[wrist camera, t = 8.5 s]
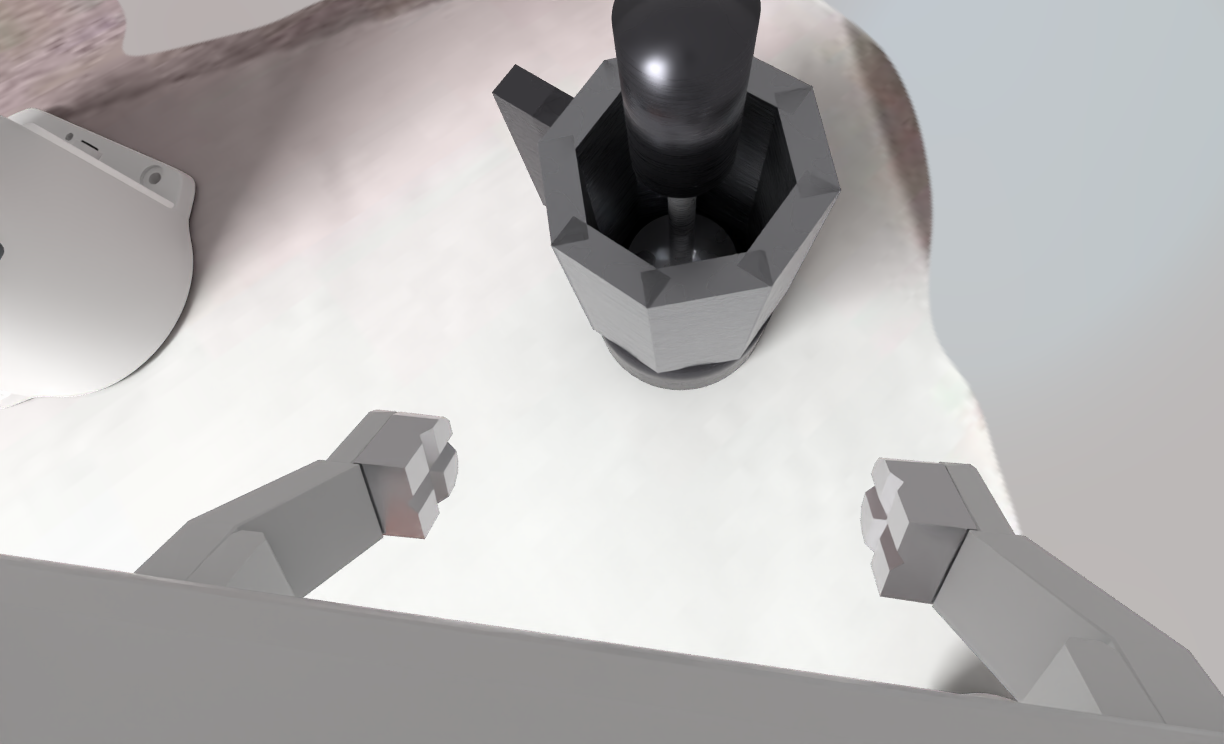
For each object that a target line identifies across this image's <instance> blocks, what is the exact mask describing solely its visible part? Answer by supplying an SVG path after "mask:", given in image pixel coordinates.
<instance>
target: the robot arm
mask: <svg viewBox="0 0 1224 744" xmlns="http://www.w3.org/2000/svg"><path fill="white" fill-rule="evenodd" d="M194 195H195V182H194V180H193V178H192V177H191V176H189V175H188V174H186V173H184V172H182V171H180V170H178V169H176V168H174V167H172V166H170V165H167V164H165V163H163V162H160V161H158V160H156V159H154V158H151V157H149V156H147V155H144V154H142V153H140V152H137V151H135V150H133V149H130V148H128V147H126V146H123V145H121V144H119V143H117V142H114V141H112V140H110V139H107V138H105V137H103V136H100V135H98V134H96V133H93V132H91V131H89V130H87V129H84V128H82V127H80V126H77V125H75V124H73V123H70V122H68V121H66V120H63V119H61V118H59V117H57V116H54V115H52V114H50V113H47V112H45V111H42V110H40V109H37V108H28V109H25V110H23V111H20V112H18V113H16V114H13V115H11V116H9V117H8V118H6V117H4V116H1V115H0V409H4V408H8V407H11V406H14V405H16V404H19V403H21V402H24V401H26V400H28V399H31V398H34V397H73V396H80V395H85V394H89V393H93V392H96V391H99V390H101V389H104V388H106V387H108V386H111V385H113V384H114V383H116V382H118V381H120V380H122V379H123V378H125V377H126V376H128V375H129V374H131V373H132V372H134V371H135V370H136V369H137V368H139V367H140V366H141V365H142V364H143V363H144V362H146V361H147V360H148V359H149V358H150V357H151V356H152V355H153V354H154V353H155V351H156V350H157V349H158V348H159V347H160V346H161V344H162V343H163V342H164V341H165V339H166V338H167V336H168V335H169V334H170V332H171V331H172V329H173V327H174V326H175V324H176V322H177V320H178V318H179V316H180V314H181V312H182V310H183V308H184V305H185V303H186V300H187V297H188V293H189V290H190V285H191V280H192V273H193V250H192V244H191V238H190V232H189V217H190V213H191V209H192V205H193V201H194ZM452 434H453V433H452V429H451V425H450V421H449V420H448V419H447V418H445V417H440V416H432V415H423V414H415V413H406V412H395V411H386V410H374V411H371V412H369V413H368V414H367V415H366V416H365V417H364V418H363V420H362V421H361V422H360V423H359V424H358V425H357V426H356V427H355V429H354V430H353V431H352V432H351V433H350V434H349V435H348V436H347V438H346V439H345V440H344V441H343V442H342V443H341V444H340V445H339V446H338V448H337V449H336V450H335V451H334V452H333V453H332V454H331V455H330V457H329V458H328V459H327V460H326V461H325V460H317V461H315V462H313V463H311V464H309V465H307V466H305V467H302V468H300V469H298V470H296V471H294V472H292V473H290V474H287V475H285V476H283V477H281V478H279V479H277V480H275V481H272V482H270V483H268V484H266V485H264V486H262V487H260V488H258V489H255V490H253V491H251V492H249V493H247V494H245V495H243V496H240V497H238V498H236V499H234V500H232V501H230V502H228V503H226V504H223V505H221V506H219V507H217V508H215V509H213V510H211V511H208V512H206V513H204V514H202V515H200V516H198V517H196V518H193V519H191V520H189V521H188V522H187V523H186V524H185V525H184V526H183V527H182V528H180V529H179V530H178V531H177V532H176V533H175V534H174V535H173V536H172V537H171V538H170V539H169V540H168V541H167V542H166V543H165V544H164V545H163V546H161V547H160V548H159V549H158V550H157V551H156V552H155V553H154V554H153V555H152V556H151V557H150V558H149V559H148V560H147V561H146V562H145V563H144V564H142V565H141V566H140V567H139V568H138V569H137V570H136V571H135V572H134V573H129V572H122V571H115V570H108V569H101V568H94V567H88V566H81V565H74V564H67V563H60V562H53V561H46V560H39V559H32V558H26V557H19V556H12V555H5V554H0V744H1224V697H1223V695H1222V694H1221V692H1220V691H1219V690H1218V689H1217V687H1216V686H1215V684H1214V683H1213V682H1212V680H1211V679H1210V678H1209V676H1208V675H1207V674H1206V672H1205V671H1204V670H1203V668H1202V667H1201V666H1200V664H1199V663H1198V662H1197V660H1196V659H1195V658H1194V656H1193V655H1192V653H1191V652H1190V651H1189V650H1188V649H1186V648H1185V647H1183V646H1182V645H1180V644H1179V643H1178V642H1176V641H1175V640H1173V639H1172V638H1170V637H1169V636H1167V635H1166V634H1165V633H1163V632H1162V631H1160V630H1159V629H1157V628H1156V627H1155V626H1153V625H1152V624H1150V623H1149V622H1148V621H1146V620H1145V619H1143V618H1142V617H1140V616H1139V615H1138V614H1136V613H1135V612H1133V611H1132V610H1130V609H1129V608H1127V607H1126V606H1125V605H1123V604H1122V603H1120V602H1119V601H1117V600H1116V599H1115V598H1113V597H1112V596H1110V595H1109V594H1107V593H1106V592H1105V591H1103V590H1102V589H1100V588H1099V587H1097V586H1096V585H1095V584H1093V583H1092V582H1090V581H1089V580H1087V579H1086V578H1085V577H1083V576H1082V575H1080V574H1079V573H1077V572H1076V571H1074V570H1073V569H1072V568H1070V567H1069V566H1067V565H1066V564H1064V563H1063V562H1062V561H1060V560H1059V559H1057V558H1056V557H1054V556H1053V555H1052V554H1050V553H1049V552H1047V551H1046V550H1044V549H1043V548H1042V547H1040V546H1039V545H1037V544H1036V543H1034V542H1033V541H1032V540H1030V539H1028V538H1027V537H1026V536H1021V535H1015V534H1014V532H1013V530H1012V528H1011V527H1010V525H1009V523H1008V522H1007V520H1006V518H1005V517H1004V515H1003V513H1002V511H1001V510H1000V508H999V506H998V505H997V503H996V501H995V500H994V498H993V496H992V494H991V493H990V491H989V489H988V488H987V486H986V484H985V483H984V481H983V479H982V477H981V476H980V474H979V472H978V471H977V469H976V468H975V467H973V466H972V465H971V464H959V463H945V462H939V463H935V462H924V461H913V460H901V459H890V458H878V460H877V461H876V463H875V464H874V467H873V470H872V473H871V475H872V478H873V481H874V484H875V486H874V487H872V488H871V489H869V490H868V491H867V492H865V495H864V499H863V502H862V506H861V520H860V521H861V530H862V535H863V539H864V543H865V544H866V545H867V546H868V547H869V548H870V549H871V550H872V551H873V552H874V556H873V559H872V561H871V567H872V571H873V574H874V578H875V581H876V585H877V588H878V592H879V595H880V596H882V597H888V598H895V599H901V600H908V601H915V602H921V603H928V604H933V606H932V607H933V608H934V609H935V610H936V611H937V612H938V614H939V615H940V616H941V617H942V618H943V619H944V620H945V621H946V622H947V624H948V625H949V626H950V627H951V628H952V629H953V630H954V631H955V632H956V633H957V635H958V636H959V637H960V638H961V639H962V640H963V641H964V642H965V643H966V645H967V646H968V647H969V648H970V649H971V650H972V651H973V652H974V653H975V655H976V656H977V657H978V658H979V659H980V660H981V661H982V662H983V663H984V664H985V666H986V667H987V668H988V669H989V670H990V671H991V672H992V673H993V674H994V676H995V677H996V678H997V679H998V680H999V681H1000V682H1001V683H1002V684H1003V686H1004V687H1005V688H1006V689H1007V690H1008V691H1009V692H1010V693H1011V694H1012V696H1013V697H1014V698H1015V699H1016V700H1017V701H1018V702H1013V701H1006V700H999V699H992V698H985V697H979V696H972V695H965V694H958V693H951V692H945V691H938V690H931V689H924V688H917V687H910V686H904V685H897V684H890V683H883V682H876V681H869V680H863V679H856V678H849V677H842V676H835V675H828V674H821V673H815V672H808V671H801V670H794V669H787V668H780V667H773V666H767V665H760V664H753V663H746V662H739V661H732V660H725V659H719V658H712V657H705V656H698V655H691V654H684V653H677V652H671V651H664V650H657V649H650V648H643V647H636V646H629V645H623V644H616V643H609V642H602V641H595V640H588V639H582V638H575V637H568V636H561V635H554V634H547V633H541V632H534V631H527V630H520V629H513V628H506V627H499V626H493V625H486V624H479V623H472V622H465V621H458V620H451V619H445V618H438V617H431V616H424V615H417V614H410V613H403V612H397V611H390V610H383V609H376V608H369V607H362V606H355V605H349V604H342V603H335V602H328V601H321V600H314V599H308V598H303V597H304V596H306V595H307V594H308V593H310V592H311V591H312V590H314V589H315V588H316V587H318V586H319V585H320V584H322V583H323V582H324V581H326V580H327V579H328V578H330V577H331V576H332V575H334V574H335V573H336V572H338V571H339V570H340V569H342V568H343V567H344V566H346V565H347V564H348V563H350V562H351V561H352V560H354V559H355V558H356V557H358V556H359V555H360V554H362V553H363V552H364V551H366V550H367V549H368V548H370V547H371V546H372V545H374V544H375V543H376V542H378V541H379V540H380V539H382V538H383V535H388V536H399V537H409V538H419V539H425V538H426V536H427V534H428V533H429V531H430V529H431V527H432V526H433V524H434V522H435V520H436V518H437V517H438V515H439V509H438V505H437V503H439V502H441V501H442V500H444V499H446V498H447V497H449V495H450V493H451V492H452V490H453V488H454V486H455V482H456V478H457V474H458V457H457V452H456V450H455V449H454V448H453V447H452V446H451V445H450V444H449V443H448V440H449V439H450V437H451V436H452Z"/></svg>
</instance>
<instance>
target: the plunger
mask: <svg viewBox="0 0 1224 744" xmlns="http://www.w3.org/2000/svg"><path fill="white" fill-rule="evenodd" d="M760 12H761V2H760V0H615V1H614V4H613V9H612V28H613V35H614V42H615V50H616V57H617V64H618V71H619V79H620V86H621V93H622V100H623V108H624V115H625V122H626V129H627V137H628V144H629V151H630V158H631V164H632V167H633V170H634V172H635V174H636V175H637V177H638V179H639V180H640V181H641V182H642V183H643V184H644V185H645V186H646V187H647V188H649V189H650V190H652V191H653V192H655V193H657V194H660V195H663V196H666V197H668V215H664V216H662V217H659V218H657V219H655V220H653V221H651V222H650V223H648V224H647V225H646V226H644V227H643V228H642V229H641V230H640V231H639V232H638V234H637V235H636V236H635V238H634V239H633V241H632V242H631V245H630V247H629V249H628V251H630V252H631V253H633V254H635V255H636V256H638V257H639V258H641V259H643V260H644V261H646V262H647V263H649V264H650V265H652V266H654V267H655V268H657V269H659V268H665V267H670V266H676V265H681V264H686V263H692V262H697V261H702V260H708V259H713V258H718V257H724V256H729V255H734V254H736V250H735V246H734V244H733V242H732V240H731V238H730V237H729V235H728V234H727V233H726V232H725V230H724V229H723V228H722V227H721V226H719V225H718V224H717V223H715V222H714V221H712V220H710V219H709V218H707V217H704V216H701V215H698V214H695V211H696V196H699V195H702V194H705V193H707V192H709V191H711V190H712V189H714V188H715V187H717V186H718V185H719V184H720V183H721V182H722V181H723V180H724V179H725V178H726V177H727V176H728V174H729V173H730V171H731V169H732V167H733V165H734V162H735V158H736V152H737V146H738V141H739V135H740V129H741V123H742V117H743V112H744V106H745V100H746V94H747V88H748V83H749V77H750V71H751V65H752V59H753V54H754V48H755V42H756V36H757V30H758V25H759V19H760Z"/></svg>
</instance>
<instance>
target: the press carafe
mask: <svg viewBox="0 0 1224 744" xmlns="http://www.w3.org/2000/svg"><path fill="white" fill-rule="evenodd" d="M492 94H493V96H494V98H495V100H496V102H497V105H498V107H499V109H500V111H501V113H502V115H503V118H504V120H505V122H506V124H507V126H508V129H509V131H510V133H511V135H512V137H513V139H514V142H515V144H516V146H517V148H518V150H519V153H520V155H521V157H522V159H523V161H524V163H525V166H526V168H527V170H528V172H529V174H530V177H531V179H532V181H533V183H534V185H535V187H536V190H537V192H538V194H539V196H540V198H541V201H542V203H543V205H545V206H546V207H547V215H548V222H549V230H550V237H551V246H552V248H553V250H554V252H555V254H556V256H557V258H558V260H559V262H560V264H561V266H562V268H563V270H564V272H565V274H566V276H567V278H568V280H569V282H570V284H571V286H572V288H573V290H574V292H575V294H576V296H577V298H578V300H579V302H580V304H581V306H582V308H583V310H584V312H585V314H586V316H587V318H588V320H589V322H590V324H591V326H592V328H593V330H596V331H597V332H599V333H600V334H601V335H602V337H603V339H604V341H605V343H606V345H607V347H608V349H609V351H610V353H611V354H612V355H613V357H614V358H615V359H616V361H617V362H618V363H619V364H620V365H621V366H622V367H623V368H624V369H625V370H626V371H628V372H629V373H630V374H631V375H633V376H634V377H636V378H638V379H639V380H641V381H643V382H646V383H648V384H650V385H653V386H657V387H660V388H665V389H671V390H689V389H697V388H701V387H705V386H708V385H711V384H713V383H716V382H718V381H720V380H722V379H724V378H726V377H727V376H729V375H730V374H731V373H733V372H734V371H736V370H737V369H738V368H739V367H740V366H741V365H742V364H743V363H744V362H745V360H746V359H747V358H748V357H749V356H750V354H751V353H752V351H753V349H754V348H755V346H756V344H757V342H758V340H759V338H760V336H761V334H762V333H763V331H764V329H765V327H766V325H767V323H768V321H769V319H770V317H771V315H772V313H773V310H774V309H775V308H776V306H777V305H778V303H779V302H780V301H781V299H782V298H783V296H784V295H785V294H786V292H787V291H788V289H789V287H790V285H791V283H792V281H793V279H794V277H795V276H796V274H797V272H798V270H799V268H800V266H801V264H802V263H803V261H804V259H805V257H806V255H807V253H808V251H809V249H810V248H811V246H812V244H813V242H814V240H815V238H816V236H817V235H818V233H819V231H820V229H821V227H822V225H823V223H824V221H825V220H826V218H827V216H828V214H829V212H830V210H831V208H832V207H833V205H834V203H835V201H836V199H837V197H838V195H839V193H840V192H841V188H840V186H839V182H838V179H837V175H836V171H835V168H834V164H833V160H832V157H831V153H830V150H829V146H828V142H827V139H826V135H825V131H824V128H823V124H822V121H821V117H820V113H819V110H818V106H817V102H816V99H815V95H814V92H813V87H812V86H810V85H808V84H806V83H804V82H802V81H800V80H798V79H796V78H794V77H793V76H791V75H789V74H787V73H785V72H783V71H781V70H779V69H777V68H775V67H773V66H771V65H769V64H767V63H765V62H763V61H761V60H759V59H757V58H755V57H753V59H752V65H751V71H750V77H749V83H748V88H747V94H746V100H745V106H744V112H743V117H742V123H741V129H740V135H739V141H738V146H737V152H736V158H735V162H734V165H733V167H732V169H731V171H730V173H729V174H728V176H727V177H726V178H725V179H724V180H723V181H722V182H721V183H720V184H719V185H718V186H717V187H715V188H714V189H712V190H711V191H709V192H707V193H705V194H702V195H699V196H696V211H695V214H698V215H701V216H704V217H707V218H709V219H710V220H712V221H714V222H715V223H717V224H718V225H719V226H721V227H722V228H723V229H724V230H725V232H726V233H727V234H728V235H729V237H730V238H731V240H732V242H733V244H734V246H735V250H736V254H734V255H729V256H724V257H718V258H713V259H708V260H702V261H697V262H692V263H686V264H681V265H676V266H670V267H665V268H659V269H657V268H655V267H654V266H652V265H650V264H649V263H647V262H646V261H644V260H643V259H641V258H639V257H638V256H636V255H635V254H633V253H631V252H630V251H628V249H629V247H630V245H631V242H632V241H633V239H634V238H635V236H636V235H637V234H638V232H639V231H640V230H641V229H642V228H643V227H644V226H646V225H647V224H648V223H650V222H651V221H653V220H655V219H657V218H659V217H662V216H664V215H668V197H666V196H663V195H660V194H657V193H655V192H653V191H652V190H650V189H649V188H647V187H646V186H645V185H644V184H643V183H642V182H641V181H640V180H639V179H638V177H637V175H636V174H635V172H634V170H633V167H632V164H631V158H630V151H629V144H628V137H627V129H626V122H625V115H624V108H623V100H622V93H621V86H620V79H619V71H618V64H617V58H613V59H608V60H604V61H603V63H602V64H601V65H600V66H599V68H598V69H597V70H596V71H595V73H594V74H593V75H592V76H591V78H590V79H589V80H588V81H587V83H586V84H585V85H584V86H583V88H582V89H581V90H580V91H579V93H578V94H577V95H576V96H575V98H573V97H572V96H570V95H568V94H566V93H565V92H563V91H561V90H559V89H558V88H556V87H554V86H553V85H551V84H549V83H547V82H546V81H544V80H542V79H540V78H539V77H537V76H535V75H533V74H532V73H530V72H528V71H526V70H525V69H523V68H521V67H519V66H518V65H516V64H515V65H514V66H513V68H512V69H511V70H510V71H509V73H508V74H507V75H506V76H505V77H504V79H503V80H502V81H501V82H500V83H499V85H498V86H497V87H496V88H495V89H494V91H493V92H492Z"/></svg>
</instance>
